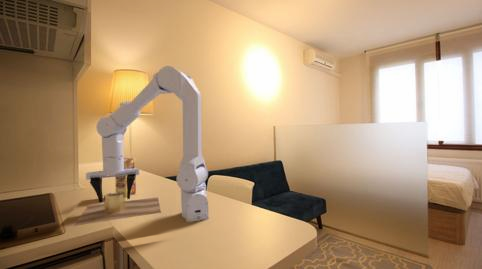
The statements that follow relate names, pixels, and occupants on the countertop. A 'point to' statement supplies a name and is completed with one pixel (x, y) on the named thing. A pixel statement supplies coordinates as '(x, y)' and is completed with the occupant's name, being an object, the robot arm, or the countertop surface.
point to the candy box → (122, 180)
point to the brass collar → (114, 203)
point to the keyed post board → (132, 209)
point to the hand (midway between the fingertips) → (115, 199)
